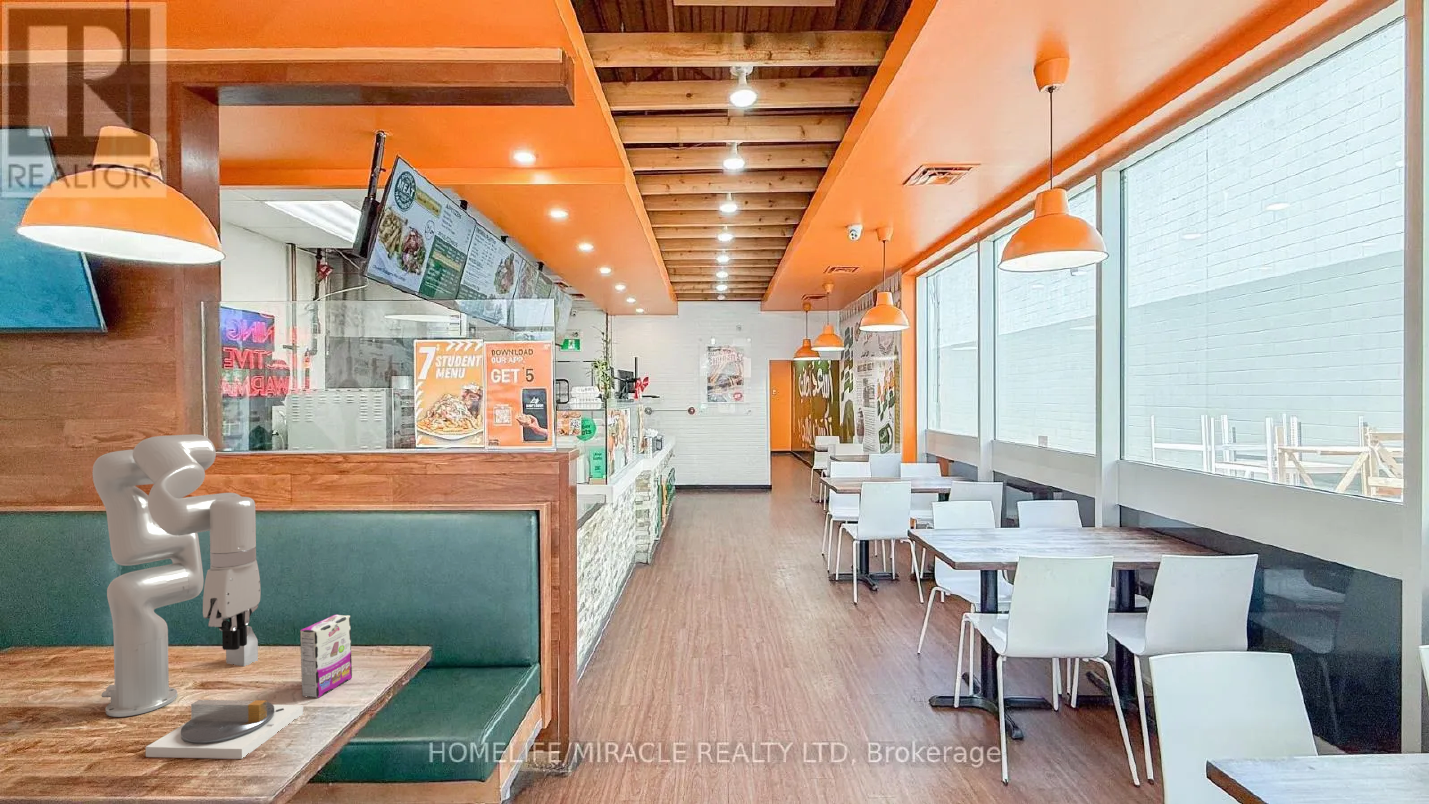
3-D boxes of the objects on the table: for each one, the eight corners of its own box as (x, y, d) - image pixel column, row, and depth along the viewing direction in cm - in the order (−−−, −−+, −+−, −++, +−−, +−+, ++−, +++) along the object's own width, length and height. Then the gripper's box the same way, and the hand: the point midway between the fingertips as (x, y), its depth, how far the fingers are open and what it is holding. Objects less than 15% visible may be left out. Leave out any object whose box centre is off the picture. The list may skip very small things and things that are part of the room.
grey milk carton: (244, 666, 172) (243, 629, 172) (226, 663, 174) (225, 626, 174) (257, 661, 176) (257, 624, 175) (240, 657, 178) (239, 622, 177)
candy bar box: (335, 676, 166) (335, 613, 165) (352, 678, 165) (352, 615, 164) (299, 697, 155) (298, 629, 154) (317, 699, 154) (316, 630, 153)
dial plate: (145, 756, 129) (145, 746, 129) (218, 712, 147) (218, 702, 147) (241, 758, 128) (241, 748, 128) (303, 713, 146) (303, 704, 146)
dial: (159, 743, 130) (159, 720, 130) (223, 704, 146) (222, 684, 146) (236, 744, 129) (235, 722, 129) (291, 705, 145) (291, 685, 145)
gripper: (244, 548, 139) (246, 633, 140) (183, 568, 124) (184, 663, 124) (278, 549, 139) (279, 633, 139) (220, 568, 124) (222, 663, 124)
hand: (234, 646), depth 132 cm, fingers closed
